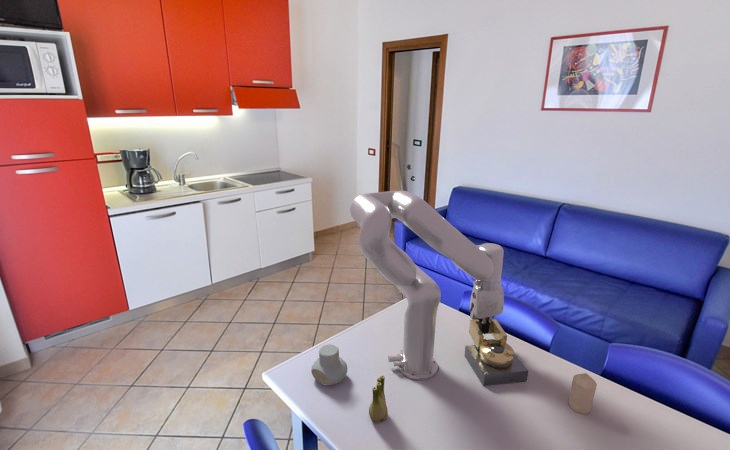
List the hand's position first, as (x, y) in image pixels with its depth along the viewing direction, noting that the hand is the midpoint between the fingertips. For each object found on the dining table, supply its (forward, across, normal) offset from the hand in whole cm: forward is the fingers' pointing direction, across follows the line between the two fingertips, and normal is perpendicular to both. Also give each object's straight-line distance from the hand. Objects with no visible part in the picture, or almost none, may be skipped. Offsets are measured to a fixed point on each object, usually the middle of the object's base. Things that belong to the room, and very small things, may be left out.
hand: (483, 331), depth 122 cm
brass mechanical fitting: (+4, 0, -5) cm, 6 cm away
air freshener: (+7, -52, +3) cm, 53 cm away
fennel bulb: (+7, -43, -15) cm, 46 cm away
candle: (+8, +11, -29) cm, 32 cm away
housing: (+8, -1, -8) cm, 12 cm away
